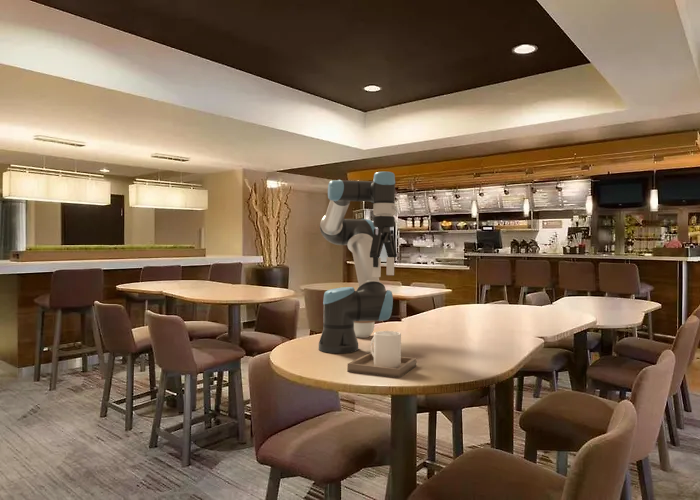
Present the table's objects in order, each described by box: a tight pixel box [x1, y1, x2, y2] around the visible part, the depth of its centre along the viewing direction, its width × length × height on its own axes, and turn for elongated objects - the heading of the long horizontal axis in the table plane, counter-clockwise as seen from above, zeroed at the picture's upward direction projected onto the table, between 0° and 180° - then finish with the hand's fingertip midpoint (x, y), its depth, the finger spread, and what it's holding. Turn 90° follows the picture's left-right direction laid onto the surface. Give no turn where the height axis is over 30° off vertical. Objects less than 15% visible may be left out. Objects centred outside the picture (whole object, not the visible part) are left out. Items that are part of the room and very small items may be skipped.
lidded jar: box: [354, 321, 376, 339], centre depth 219 cm, size 11×11×9 cm
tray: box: [346, 353, 417, 379], centre depth 160 cm, size 17×17×2 cm
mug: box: [369, 330, 402, 368], centre depth 161 cm, size 9×12×11 cm
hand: (383, 276), depth 177 cm, fingers open, 13 cm apart
